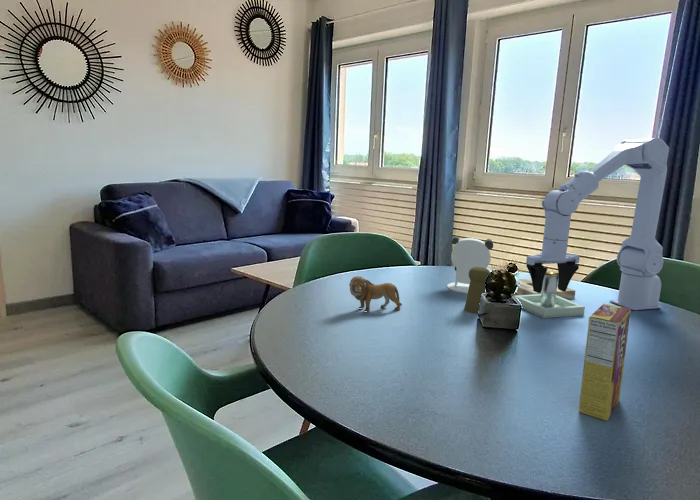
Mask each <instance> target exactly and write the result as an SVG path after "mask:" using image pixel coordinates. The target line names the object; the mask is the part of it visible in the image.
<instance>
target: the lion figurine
mask: <svg viewBox="0 0 700 500" xmlns="http://www.w3.org/2000/svg"><path fill="white" fill-rule="evenodd" d="M348 285H349V292H350V294H351V296H353V297H354V298H355V300H357V301H359V303H360V306H359V307H358V308H363V312H364V311H367V312H368V311H369V312H370V304H371V301H372V300H379V299H381V298H384V300H385V301H384V304H381V305H380V307H381V306H382V307H385V308H387V306H388V305H389V304H390V301H391V302H392V303H394V304H395V305H396V307H394V310H395V311H396V310H398V311H400V309H401V307H402V306H403V304H402V302H401V300H400V294H399V290H398V288H397V286H396V285H394V284H393V283H390V282H384V283H380V284H379V283H378V284H374V283H372V282H371V281H370V280H368V279H365V278H364V277H362V276H359V275H357V276H353V277H352V279H350V281H349V284H348ZM364 307H365V309H364ZM382 307H381V308H382ZM369 312H368V313H369Z"/></svg>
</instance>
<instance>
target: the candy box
mask: <svg viewBox="0 0 700 500" xmlns="http://www.w3.org/2000/svg"><path fill="white" fill-rule="evenodd" d="M631 310H632V309H630V308H626V307H623V306H621V305H619V306H618V305H614V304H605V303H603V304H602V305H601V306H599V307H598V308H597V310H595V311H594V312H593V313H592V314H591V315H590V316H589V317H588V325H587V334H586V335H587V336H586V344H585V351H584V361H583V369H582V376H581V377H582V379H581V386H580V388H581V389H580V396H579V406H578V412H579V413H580V414H584V415H585V416H589V417H592V418H596V419H598V420H602V421H604V422H608V420H609V419H610V417H611V416H612V414H613V412H614V411H615V408H616V406H617V405H618V404H619V401H620V400H621V391H622V390H621V389H622V385H623V383H622V382H623V378H624V377H623V375H624V368H625V360H626V350H627V343H628V333H629V325H630V317H631Z"/></svg>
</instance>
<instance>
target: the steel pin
mask: <svg viewBox="0 0 700 500" xmlns="http://www.w3.org/2000/svg"><path fill="white" fill-rule="evenodd" d="M558 275H559V273H558V271H557V272H556V271H550V270H549V271H548V270H547V271H546V274H545V276H544V280H543V286H542V292H541V300H540V306H542V307H545V308H551V307H555V300H556V292H557V284H558Z"/></svg>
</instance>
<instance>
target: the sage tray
mask: <svg viewBox="0 0 700 500" xmlns="http://www.w3.org/2000/svg"><path fill="white" fill-rule="evenodd" d="M515 296H516V297H517V298H518V299H519V301H520V302H521V304H522V307H523V308H522V309H524V310H526V311H527V312H529V313H531V314H534V315H536V316H538V317H540V318H542V319H551V318H552V319H553V318H554V319H555V318H564V317H565V318H566V317H576V316H577V317H579V316H584V315H585V311H586V310H585V309H586V306H584V305H581V304H580V303H576V302H575V301H572V300H569V299H564V298H562V297H559V296H557V295H556V300H555V307H551V308H545V307H542V306H540V300H541V294H532V295H518V294H516V295H515Z"/></svg>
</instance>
